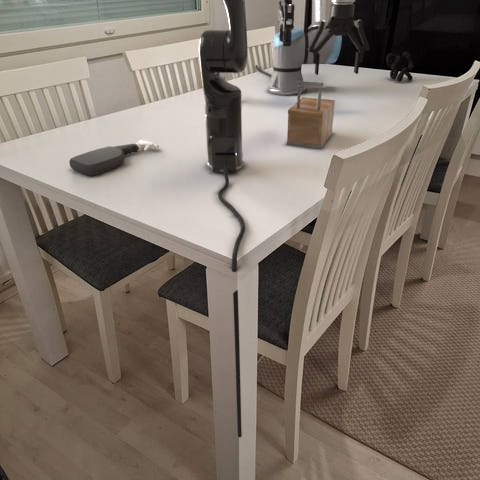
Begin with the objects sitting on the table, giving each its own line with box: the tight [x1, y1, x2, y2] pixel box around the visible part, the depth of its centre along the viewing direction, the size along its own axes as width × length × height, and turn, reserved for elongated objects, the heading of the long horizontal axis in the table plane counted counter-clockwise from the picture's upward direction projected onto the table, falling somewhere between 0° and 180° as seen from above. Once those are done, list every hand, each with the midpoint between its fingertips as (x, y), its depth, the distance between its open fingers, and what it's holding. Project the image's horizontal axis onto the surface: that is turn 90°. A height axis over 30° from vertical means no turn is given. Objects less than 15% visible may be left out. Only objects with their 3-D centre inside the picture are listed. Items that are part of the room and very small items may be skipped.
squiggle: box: [385, 51, 414, 83], centre depth 198 cm, size 11×10×15 cm
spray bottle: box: [68, 139, 160, 177], centre depth 124 cm, size 3×11×24 cm
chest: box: [286, 104, 335, 150], centre depth 134 cm, size 14×10×9 cm
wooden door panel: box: [287, 80, 336, 117], centre depth 129 cm, size 15×10×8 cm
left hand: (285, 43), depth 127 cm, fingers open, 8 cm apart
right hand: (336, 73), depth 153 cm, fingers open, 13 cm apart
